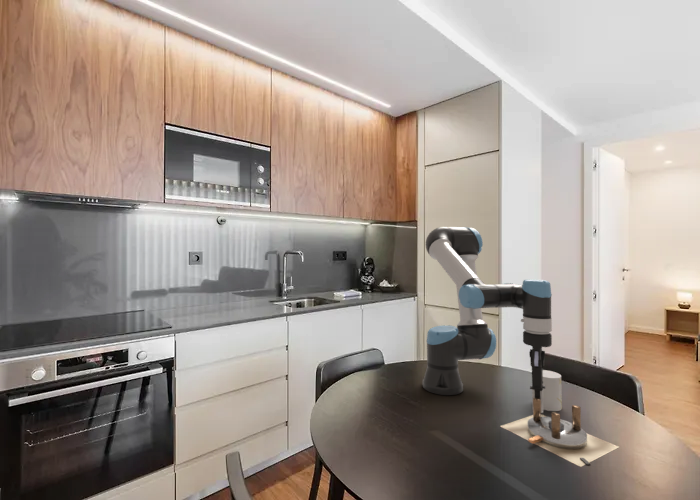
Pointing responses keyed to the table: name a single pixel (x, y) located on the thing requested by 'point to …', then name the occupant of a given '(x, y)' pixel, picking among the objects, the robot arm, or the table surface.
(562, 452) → the base board
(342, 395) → the table surface
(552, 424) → the capstan wheel
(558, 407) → the cup
